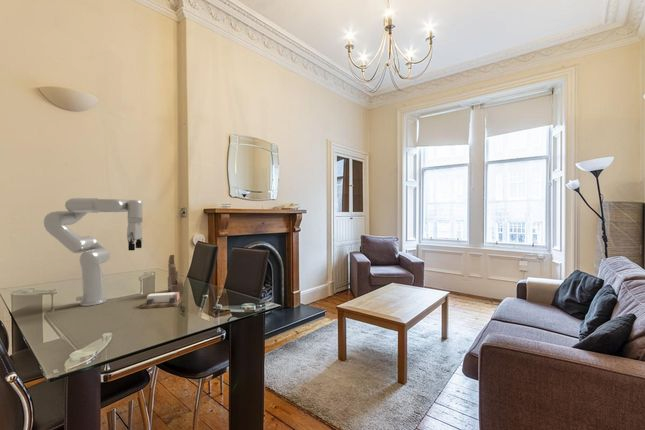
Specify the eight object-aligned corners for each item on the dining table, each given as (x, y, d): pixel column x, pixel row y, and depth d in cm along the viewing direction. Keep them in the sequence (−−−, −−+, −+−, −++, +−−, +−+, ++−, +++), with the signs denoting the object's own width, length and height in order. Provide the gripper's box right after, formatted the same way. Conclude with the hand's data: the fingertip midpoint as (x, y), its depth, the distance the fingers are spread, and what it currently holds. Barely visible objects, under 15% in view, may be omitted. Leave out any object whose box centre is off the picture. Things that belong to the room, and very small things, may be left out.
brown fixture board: (142, 308, 169) (142, 301, 169) (151, 300, 183) (151, 294, 183) (176, 306, 173) (176, 299, 173) (183, 298, 186) (183, 292, 186)
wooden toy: (183, 293, 197) (182, 255, 197) (172, 295, 193) (171, 256, 192) (178, 288, 210) (177, 252, 209) (167, 290, 205) (166, 253, 205)
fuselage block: (147, 303, 174) (146, 296, 174) (150, 300, 179) (150, 293, 179) (177, 301, 177) (176, 294, 177) (179, 298, 182) (179, 291, 182)
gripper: (134, 219, 189) (134, 247, 190) (121, 221, 172) (121, 251, 173) (147, 220, 191) (147, 247, 191) (135, 221, 174) (135, 251, 174)
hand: (135, 249), depth 182 cm, fingers open, 9 cm apart
